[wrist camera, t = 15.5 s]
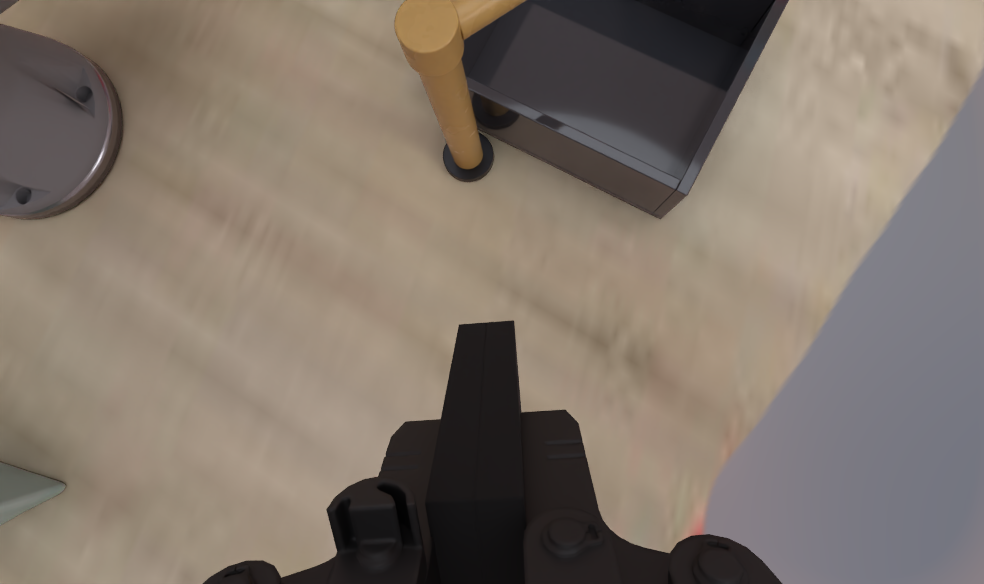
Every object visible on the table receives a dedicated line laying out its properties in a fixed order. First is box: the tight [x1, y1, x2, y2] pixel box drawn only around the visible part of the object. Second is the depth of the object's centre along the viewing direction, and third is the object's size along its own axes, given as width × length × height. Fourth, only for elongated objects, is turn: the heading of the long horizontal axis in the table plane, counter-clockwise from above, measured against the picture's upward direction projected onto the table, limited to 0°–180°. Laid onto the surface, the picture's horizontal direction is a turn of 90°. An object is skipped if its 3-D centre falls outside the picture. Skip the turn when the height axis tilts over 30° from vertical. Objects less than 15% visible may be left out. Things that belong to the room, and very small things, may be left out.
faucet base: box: [419, 59, 494, 182], centre depth 33 cm, size 4×4×15 cm
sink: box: [461, 0, 789, 219], centre depth 38 cm, size 20×16×7 cm
